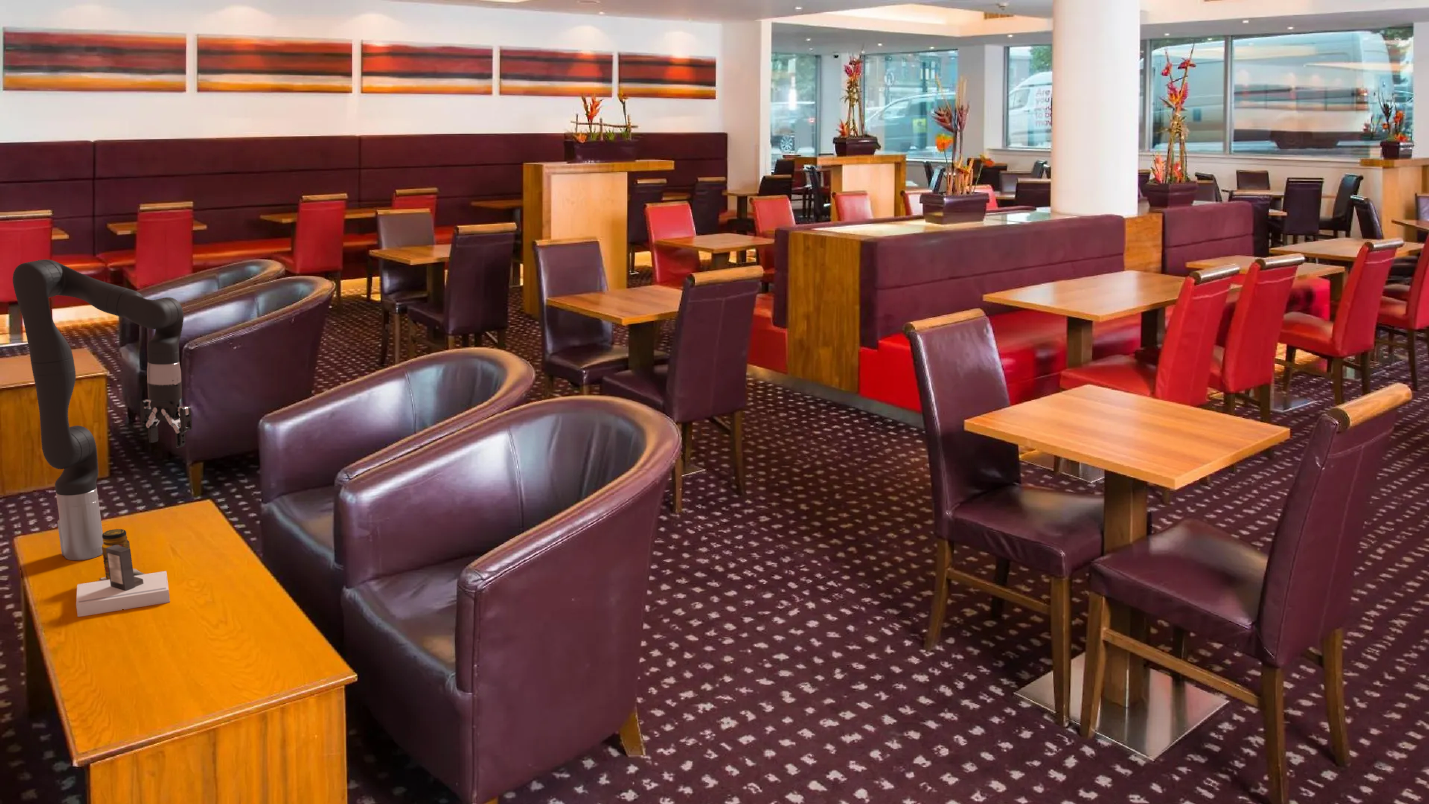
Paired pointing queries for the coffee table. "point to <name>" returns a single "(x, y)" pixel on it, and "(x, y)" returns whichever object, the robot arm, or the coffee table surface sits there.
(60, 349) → the robot arm
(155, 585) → the board
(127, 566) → the dark block with lip
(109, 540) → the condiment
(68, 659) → the coffee table surface
